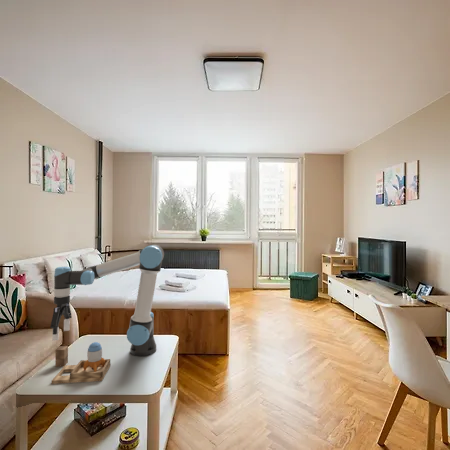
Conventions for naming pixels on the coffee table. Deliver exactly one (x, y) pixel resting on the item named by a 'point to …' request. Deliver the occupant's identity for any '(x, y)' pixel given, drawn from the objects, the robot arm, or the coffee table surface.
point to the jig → (81, 373)
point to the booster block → (61, 356)
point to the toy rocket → (94, 357)
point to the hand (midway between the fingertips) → (61, 335)
